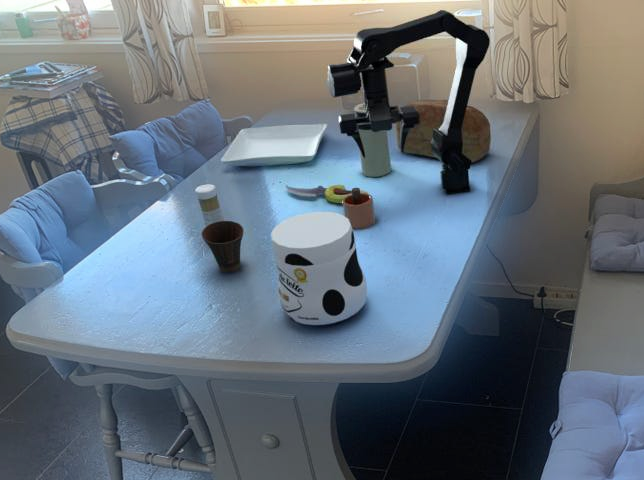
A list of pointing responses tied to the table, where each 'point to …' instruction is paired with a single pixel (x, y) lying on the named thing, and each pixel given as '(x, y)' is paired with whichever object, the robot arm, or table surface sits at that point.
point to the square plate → (275, 145)
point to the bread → (433, 117)
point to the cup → (225, 243)
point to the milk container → (318, 269)
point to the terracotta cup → (359, 211)
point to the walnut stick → (356, 196)
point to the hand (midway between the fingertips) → (383, 154)
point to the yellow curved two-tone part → (324, 192)
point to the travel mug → (373, 148)
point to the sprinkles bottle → (209, 204)
